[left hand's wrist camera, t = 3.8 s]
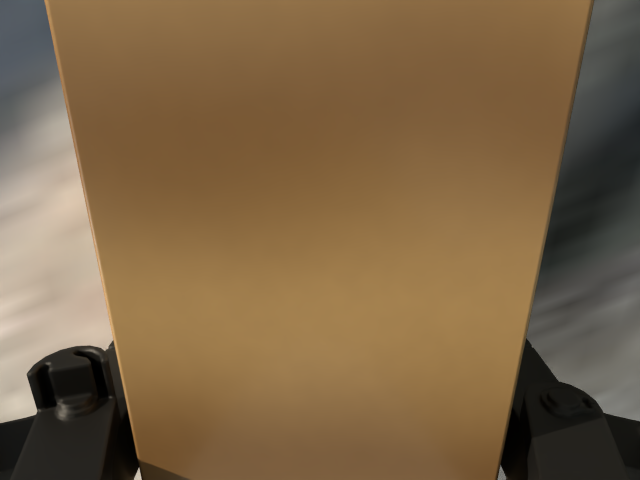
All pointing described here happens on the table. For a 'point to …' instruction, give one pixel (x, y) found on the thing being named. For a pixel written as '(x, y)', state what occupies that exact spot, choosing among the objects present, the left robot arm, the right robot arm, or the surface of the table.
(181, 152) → the post
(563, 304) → the table surface
